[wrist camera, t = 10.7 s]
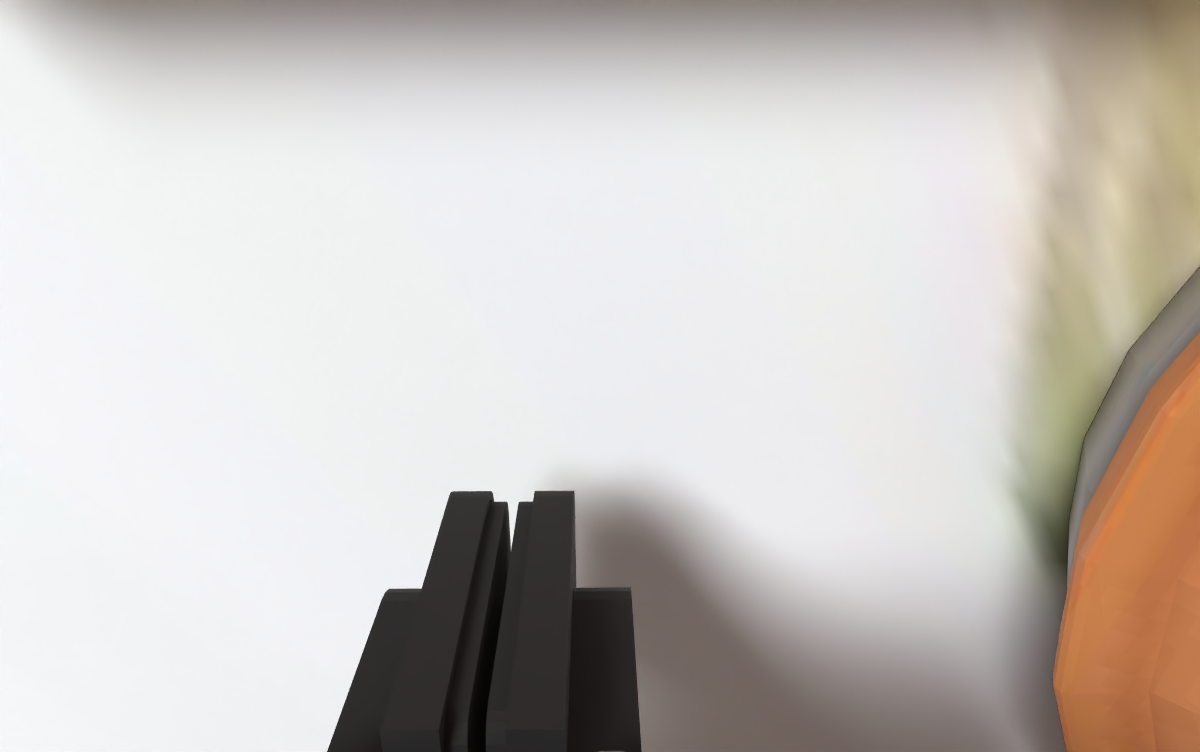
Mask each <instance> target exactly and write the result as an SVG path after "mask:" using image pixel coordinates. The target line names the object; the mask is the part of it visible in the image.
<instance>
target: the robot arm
mask: <svg viewBox="0 0 1200 752" xmlns="http://www.w3.org/2000/svg"><path fill="white" fill-rule="evenodd" d="M327 752H641V738H640V723H639V707H638V691H637V675H636V660H635V644H634V628H633V613H632V597H631V589H630V588H576V550H575V495H574V491H535V493H534V499H533V502H519V504H518V510H517V517H516V524H515V530H514V537H513V543H512V550H511V545H510V528H509V511H508V503H507V502H494V498H493V493H492V491H453V492H451V493H450V496H449V499H448V502H447V505H446V509H445V512H444V516H443V519H442V522H441V526H440V529H439V532H438V536H437V539H436V542H435V546H434V549H433V553H432V556H431V559H430V563H429V566H428V569H427V573H426V576H425V580H424V583H423V586H422V589H389V590H387V591H386V592H385V594H384V596H383V598H382V601H381V603H380V606H379V609H378V612H377V614H376V617H375V620H374V623H373V626H372V628H371V631H370V634H369V637H368V639H367V642H366V645H365V648H364V651H363V653H362V656H361V659H360V662H359V665H358V667H357V670H356V673H355V676H354V678H353V681H352V684H351V687H350V690H349V692H348V695H347V698H346V701H345V704H344V706H343V709H342V712H341V715H340V718H339V720H338V723H337V726H336V729H335V731H334V734H333V737H332V740H331V743H330V745H329V748H328V751H327Z"/></svg>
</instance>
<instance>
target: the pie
mask: <svg viewBox="0 0 1200 752" xmlns="http://www.w3.org/2000/svg"><path fill="white" fill-rule="evenodd" d="M1052 680H1053V686H1054V691H1055V696H1056V701H1057V706H1058V711H1059V716H1060V721H1061V726H1062V731H1063V736H1064V741H1065V746H1066V751H1067V752H1200V267H1199V269H1198V270H1197V271H1196V272H1195V273H1194V274H1193V276H1192V277H1191V278H1190V279H1189V280H1188V282H1187V283H1186V284H1185V285H1184V286H1183V287H1182V289H1181V290H1180V291H1179V292H1178V293H1177V295H1176V296H1175V297H1174V298H1173V299H1172V300H1171V302H1170V303H1169V304H1168V305H1167V306H1166V308H1165V309H1164V310H1163V311H1162V312H1161V313H1160V315H1159V316H1158V317H1157V318H1156V319H1155V320H1154V322H1153V323H1152V324H1151V325H1150V326H1149V328H1148V329H1147V330H1146V331H1145V332H1144V333H1143V335H1142V336H1141V337H1140V338H1139V339H1138V341H1137V342H1136V343H1135V344H1134V345H1133V346H1132V348H1131V349H1130V350H1129V352H1128V354H1127V356H1126V358H1125V360H1124V362H1123V364H1122V366H1121V367H1120V369H1119V371H1118V373H1117V375H1116V377H1115V379H1114V381H1113V383H1112V385H1111V387H1110V389H1109V391H1108V393H1107V395H1106V397H1105V399H1104V401H1103V403H1102V405H1101V407H1100V409H1099V411H1098V413H1097V415H1096V417H1095V419H1094V421H1093V422H1092V424H1091V426H1090V428H1089V430H1088V432H1087V434H1086V436H1085V439H1084V444H1083V449H1082V455H1081V460H1080V465H1079V470H1078V476H1077V481H1076V486H1075V491H1074V497H1073V502H1072V507H1071V512H1070V518H1069V546H1068V576H1067V595H1066V600H1065V605H1064V610H1063V615H1062V620H1061V625H1060V631H1059V638H1058V644H1057V651H1056V658H1055V665H1054V672H1053V679H1052Z"/></svg>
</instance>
